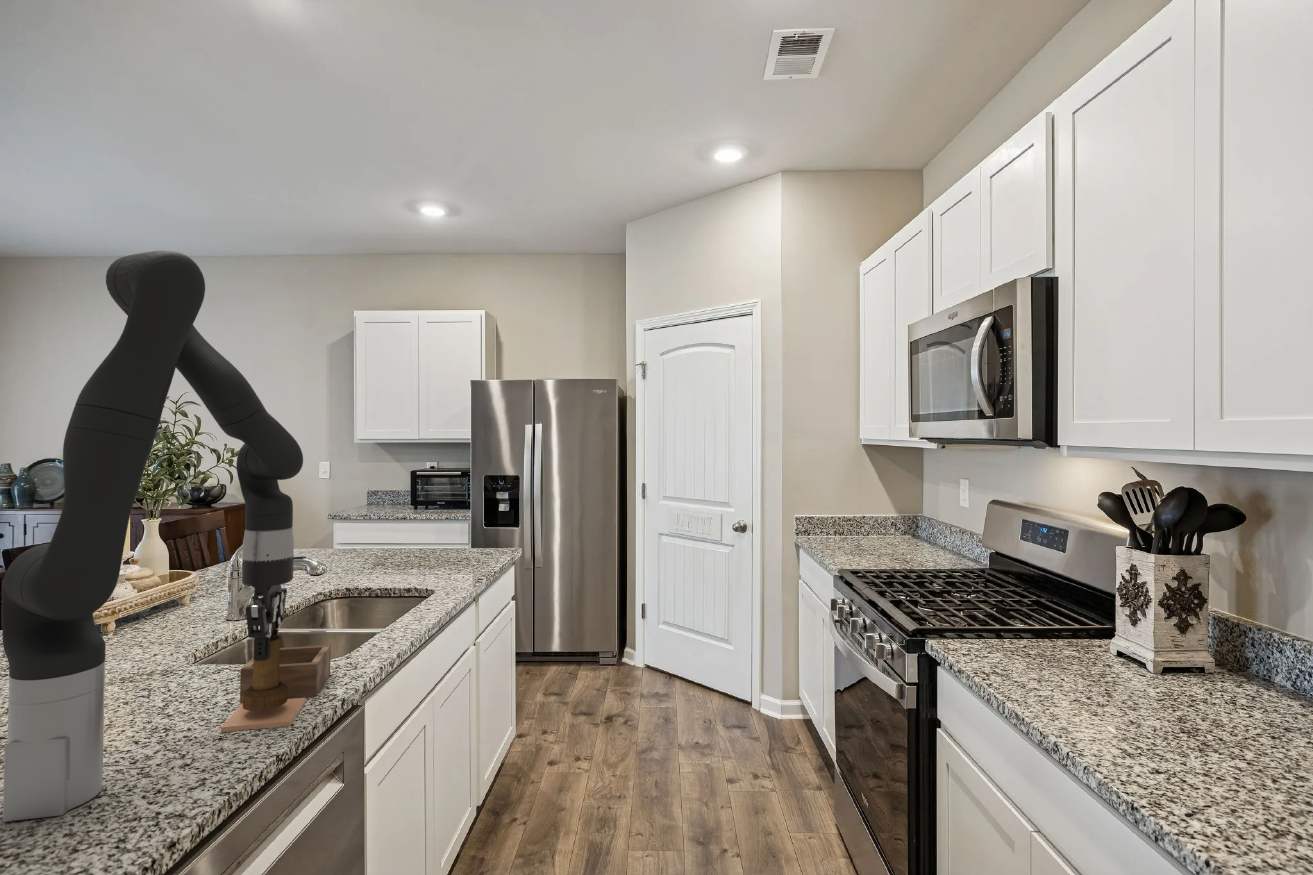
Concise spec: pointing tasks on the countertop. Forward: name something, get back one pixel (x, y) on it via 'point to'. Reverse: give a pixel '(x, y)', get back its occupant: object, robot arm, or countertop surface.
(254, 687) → the mortar and pestle
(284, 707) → the terracotta tile
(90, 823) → the countertop surface
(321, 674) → the open wooden box
